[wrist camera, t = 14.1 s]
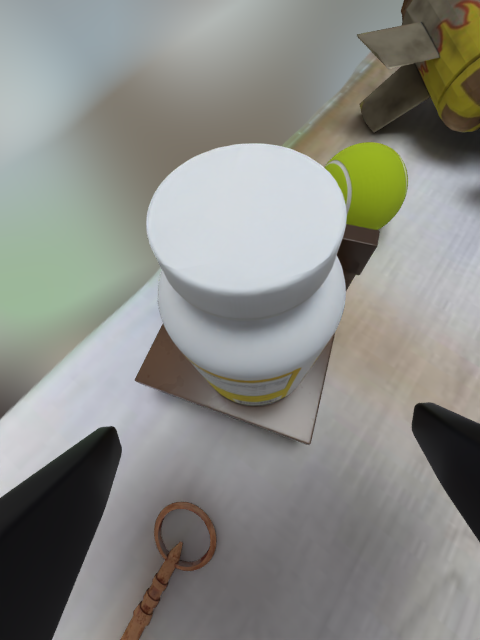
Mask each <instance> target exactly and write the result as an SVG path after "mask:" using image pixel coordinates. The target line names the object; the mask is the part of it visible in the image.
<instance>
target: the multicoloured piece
mask: <svg viewBox="0 0 480 640" xmlns="http://www.w3.org/2000/svg"><path fill="white" fill-rule="evenodd" d="M401 13H402V21H403V22H402V26H398V27H393V28H388V29H382V30H377V31H372V32H367V33H362V34H357V36H358V38H359V39H360V40H361V41H362V42H363V43H364V44H365V45H366V46H367V47H368V48H369V49H370V50H371V52H372V53H373V54H374V55H375V56H376V57H377V58H378V59H379V60H380V61H381V62H382V63H383V64H384V65H385V66H386V67H387V68H388V69H391V68H396V67H400V66H401V67H400V68H399V69H398V70H397V71H396V72H395V73H394V74H392V75H391V76H390V77H389V78H388V79H387V80H386V81H385V82H384V83H382V84H381V85H380V86H379V87H378V88H377V89H376V90H375V91H373V92H372V93H371V94H370V95H369V96H368V97H367V98H366V99H364V100H363V101H362V102H361V103H360V108H361V112H362V116H363V119H364V121H365V122H366V123H367V125H368V126H369V127H370V128H371V130H372V131H373V132H376V131H378V130H379V129H381V128H382V127H384V126H385V125H387V124H389V123H390V122H392V121H393V120H395V119H396V118H398V117H400V116H401V115H403V114H404V113H406V112H408V111H409V110H411V109H412V108H414V107H415V106H417V105H419V104H420V103H422V102H423V101H425V100H426V99H428V98H430V97H431V99H432V101H433V103H434V105H435V107H436V109H437V112H438V115H439V117H440V118H441V119H442V121H443V122H444V124H445V125H446V126H447V127H449V128H450V129H451V130H454V131H458V132H471V131H476V130H478V129H480V0H404V3H403V6H402V9H401Z"/></svg>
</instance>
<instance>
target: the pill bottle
mask: <svg viewBox="0 0 480 640" xmlns="http://www.w3.org/2000/svg"><path fill="white" fill-rule="evenodd" d="M346 220H347V214H346V204H345V200H344V197H343V194H342V192H341V189H340V188H339V186H338V184H337V182H336V180H335V179H334V178H333V176H332V175H331V174H330V173H329V172H328V171H327V170H326V169H325V168H324V167H323V166H322V165H320V164H319V163H317V162H316V161H314V160H313V159H311V158H310V157H308V156H306V155H304V154H302V153H299V152H297V151H294V150H292V149H289V148H285V147H281V146H276V145H270V144H235V145H231V146H226V147H220V148H216V149H213V150H210V151H208V152H205V153H202V154H200V155H198V156H195V157H193V158H192V159H190V160H188V161H187V162H185V163H184V164H182V165H180V166H179V167H178V168H176V169H175V170H174V171H173V172H172V173H170V174H169V176H167V177H166V178H165V180H164V181H163V182H162V183H161V184H160V185H159V187H158V189H157V190H156V192H155V193H154V195H153V198H152V200H151V202H150V205H149V208H148V213H147V222H146V227H147V236H148V240H149V243H150V246H151V249H152V251H153V252H154V255H155V257H156V259H157V261H158V263H159V265H160V267H161V269H162V271H161V274H160V279H159V285H158V306H159V311H160V315H161V319H162V321H163V324H164V327H165V329H166V331H167V333H168V334H169V336H170V338H171V339H172V341H173V342H174V343H175V345H176V346H177V347H178V349H179V350H180V351H181V352H182V353H183V354H184V356H185V357H186V358H187V359H188V360H189V361H190V362H191V363H192V365H193V366H194V367H195V368H196V369H197V370H198V371H199V372H200V373H201V375H202V376H203V377H204V378H205V379H206V380H207V381H208V382H209V383H210V385H211V386H212V387H213V388H214V389H215V390H216V391H217V392H218V393H219V394H221V395H222V396H223V397H225V398H227V399H228V400H230V401H232V402H235V403H238V404H241V405H246V406H263V405H269V404H272V403H275V402H277V401H280V400H281V399H283V398H285V397H286V396H288V395H289V394H290V393H291V392H292V391H293V390H295V389H296V387H297V386H298V385H299V384H300V382H301V381H302V379H303V378H304V376H305V375H306V373H307V372H308V371H309V369H310V368H311V367H312V365H313V364H314V362H315V361H316V360H317V358H318V357H319V355H320V354H321V352H322V351H323V349H324V348H325V346H326V345H327V343H328V342H329V341H330V339H331V337H332V336H333V334H334V333H335V331H336V329H337V327H338V325H339V322H340V320H341V317H342V314H343V310H344V306H345V298H346V286H345V278H344V274H343V269H342V266H341V264H340V261H339V259H338V257H337V253H338V250H339V247H340V244H341V241H342V239H343V236H344V232H345V228H346Z"/></svg>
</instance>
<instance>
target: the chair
mask: <svg viewBox="0 0 480 640" xmlns="http://www.w3.org/2000/svg"><path fill="white" fill-rule="evenodd" d="M379 233H380V231H379V230H374V229H369V228H364V227H359V226H354V225H349V224H346V228H345V232H344V236H343V239H342V241H341V244H340V247H339V250H338V253H337V257H338V259H339V261H340V264H341V266H342V269H343V274H344V278H345V286H346V291H347V289H348V287H349V285H350V284H351V282H352V280H353V278H354V277H355V275H360V274H361V272H362V270H363V269H364V267H365V265H366V264H367V262H368V260H369V259H370V257H371V255H372V254H373V252H374V251H375V249H376V247H377V244H378V238H379ZM334 335H335V333H334V334H333V336H332V337H331V339H330V341H329V342H328V343H327V345H326V346H325V348H324V349H323V351H322V352H321V354H320V355H319V357H318V358H317V360H316V361H315V362H314V364H313V365H312V367H311V368H310V369H309V371H308V372H307V373H306V375H305V376H304V378H303V379H302V381H301V382H300V384H299V385H298V386H297V387H296V389H295V390H293V391H292V392H291V393H290V394H289V395H288V396H286V397H285V398H283V399H281V400H280V401H277V402H275V403H272V404H269V405H263V406H246V405H241V404H238V403H235V402H232V401H230V400H228V399H227V398H225V397H223V396H222V395H221V394H219V393H218V392H217V391H216V390H215V389H214V388H213V387H212V386H211V385H210V383H209V382H208V381H207V380H206V379H205V378H204V377H203V376H202V375H201V373H200V372H199V371H198V370H197V369H196V368H195V367H194V366H193V365H192V363H191V362H190V361H189V360H188V359H187V358H186V357H185V356H184V354H183V353H182V352H181V351H180V350H179V349H178V347H177V346H176V345H175V343H174V342H173V341H172V339H171V338H170V336H169V334H168V333H167V331H166V329H165V327H164V324H162V326H161V328H160V330H159V332H158V334H157V336H156V338H155V340H154V342H153V344H152V346H151V348H150V350H149V352H148V354H147V356H146V358H145V360H144V362H143V364H142V366H141V368H140V370H139V372H138V374H137V376H136V378H135V381H136V382H138V383H140V384H143V385H145V386H148V387H151V388H154V389H156V390H159V391H162V392H165V393H167V394H170V395H173V396H175V397H178V398H181V399H184V400H186V401H189V402H192V403H194V404H197V405H200V406H203V407H205V408H208V409H211V410H214V411H216V412H219V413H222V414H224V415H227V416H230V417H233V418H235V419H238V420H241V421H244V422H246V423H249V424H252V425H254V426H257V427H260V428H263V429H265V430H268V431H271V432H274V433H276V434H279V435H282V436H284V437H287V438H290V439H293V440H295V441H298V442H301V443H304V444H307V445H309V444H311V439H312V435H313V430H314V426H315V421H316V417H317V412H318V408H319V403H320V399H321V394H322V390H323V385H324V380H325V376H326V371H327V367H328V362H329V358H330V353H331V349H332V344H333V340H334Z"/></svg>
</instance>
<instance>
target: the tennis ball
mask: <svg viewBox="0 0 480 640" xmlns="http://www.w3.org/2000/svg"><path fill="white" fill-rule="evenodd" d="M324 168H325V169H326V170H327V171H328V172H329V173H330V174H331V175H332V176H333V178H334V179H335V180H336V182H337V184H338V186H339V188H340V189H341V192H342V194H343V197H344V200H345V204H346V214H347V220H346V224H349V225H354V226H359V227H364V228H369V229H374V230H378V229H380V228H382V227H383V226H384V225H386V224H387V223H388V222H389V221H390V220H391V219H392V218H393V217H394V216H395V215H396V214H397V212H398V211H399V209H400V208H401V206H402V204H403V201H404V199H405V196H406V193H407V187H408V175H407V170H406V167H405V164H404V162H403V160H402V159H401V157H400V156H399V155H398V153H396V152H395V151H394V150H393V149H391V148H390V147H388V146H386V145H383V144H380V143H374V142H366V143H359V144H355V145H352V146H350V147H348V148H346V149H344V150H342V151H340V152H339V153H338V154H336V155H335V156H334V157H333V158H332V159H331V160H330V161H329V162H328V163H327V164H326V166H325V167H324Z"/></svg>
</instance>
